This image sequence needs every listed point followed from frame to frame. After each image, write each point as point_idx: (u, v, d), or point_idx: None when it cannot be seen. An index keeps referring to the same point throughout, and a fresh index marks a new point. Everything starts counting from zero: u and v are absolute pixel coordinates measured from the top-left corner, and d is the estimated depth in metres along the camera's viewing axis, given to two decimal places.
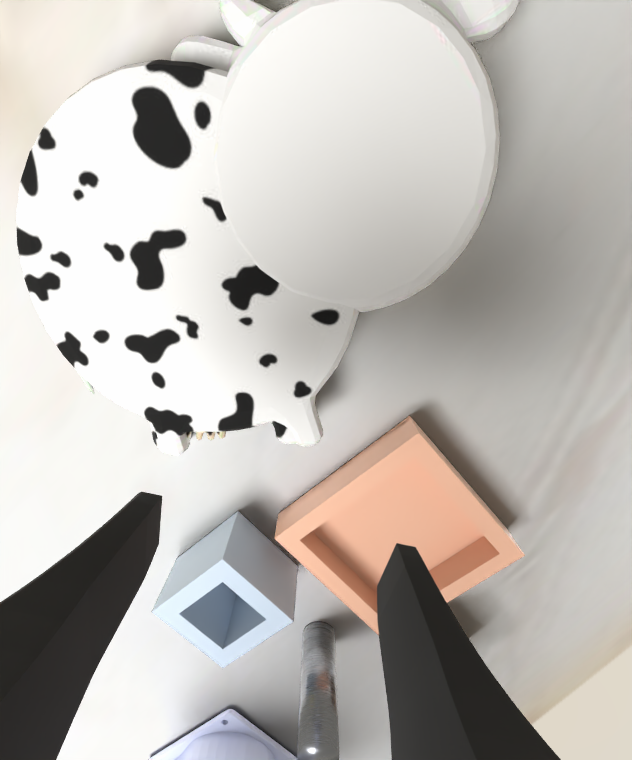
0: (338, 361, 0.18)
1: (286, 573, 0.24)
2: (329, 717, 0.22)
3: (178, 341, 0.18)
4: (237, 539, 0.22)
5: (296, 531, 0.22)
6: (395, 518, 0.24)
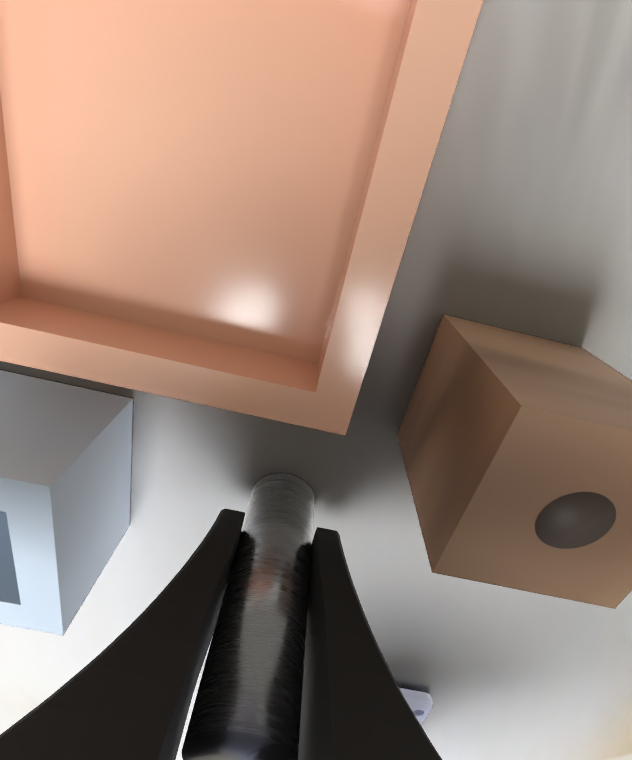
0: None
1: (79, 414, 0.11)
2: (246, 652, 0.08)
3: None
4: None
5: None
6: (167, 141, 0.09)
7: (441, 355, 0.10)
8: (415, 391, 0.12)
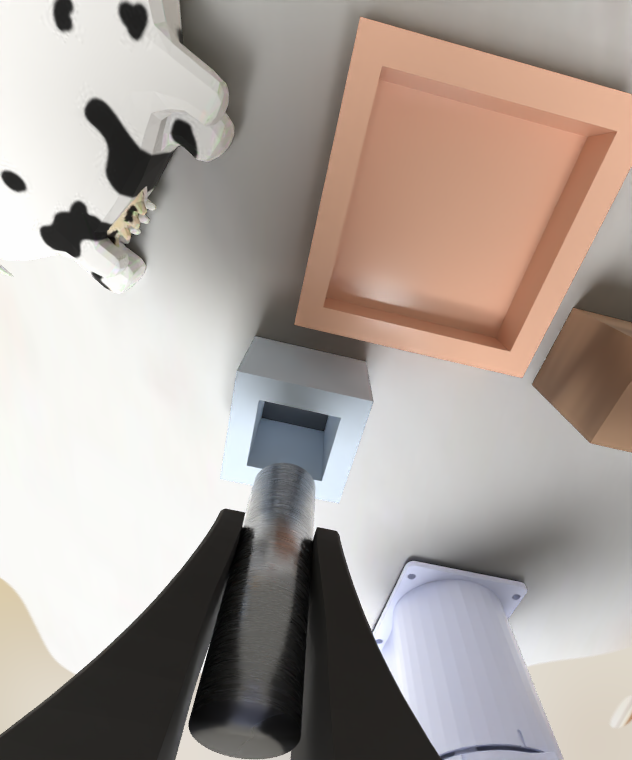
0: None
1: (349, 368, 0.18)
2: (251, 628, 0.08)
3: None
4: (258, 354, 0.17)
5: (311, 297, 0.16)
6: (437, 211, 0.16)
7: (575, 331, 0.17)
8: (549, 355, 0.19)
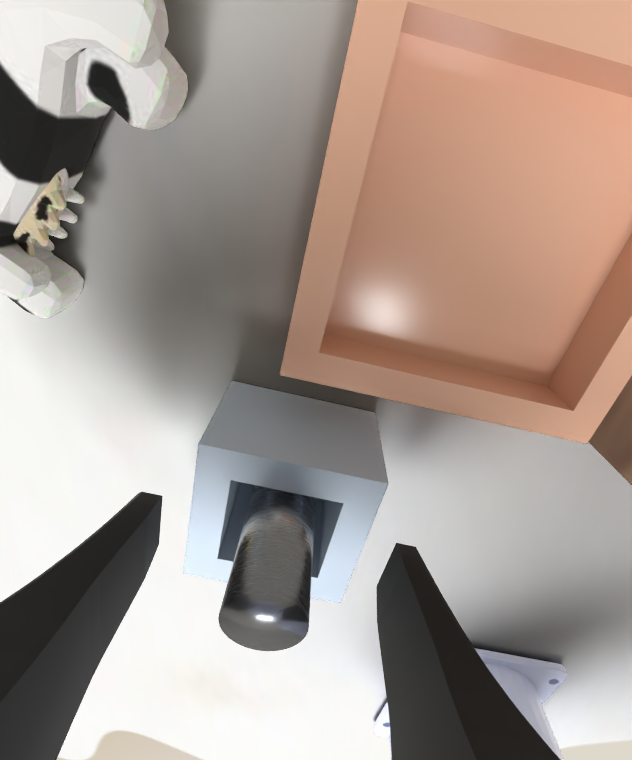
0: None
1: (354, 426, 0.14)
2: (267, 547, 0.10)
3: None
4: (233, 411, 0.13)
5: (302, 340, 0.11)
6: (476, 220, 0.11)
7: None
8: (614, 407, 0.14)
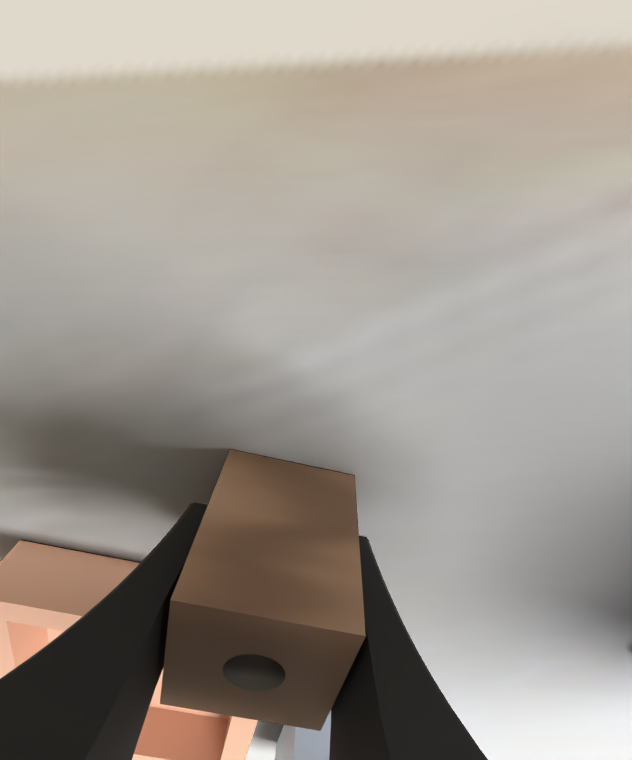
0: None
1: (291, 731, 0.17)
2: None
3: None
4: None
5: None
6: None
7: None
8: None
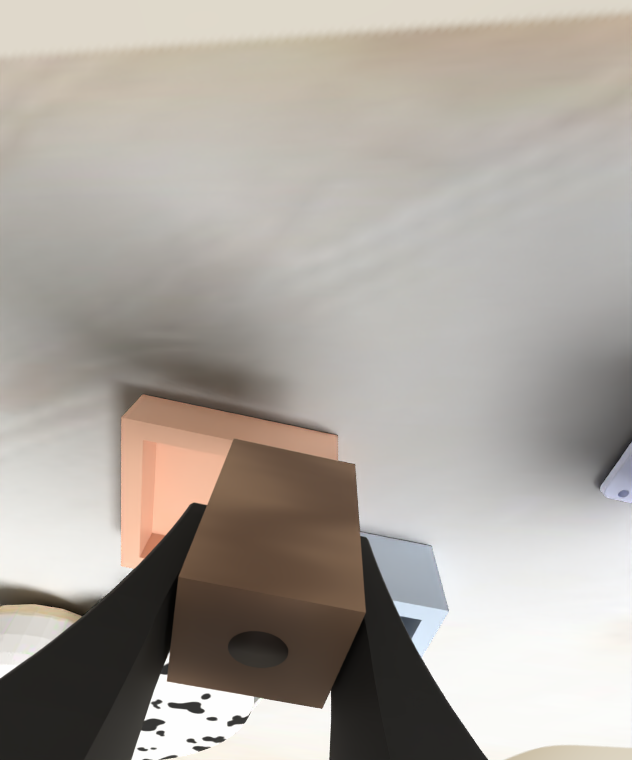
0: None
1: None
2: None
3: (171, 702, 0.27)
4: None
5: None
6: None
7: None
8: None
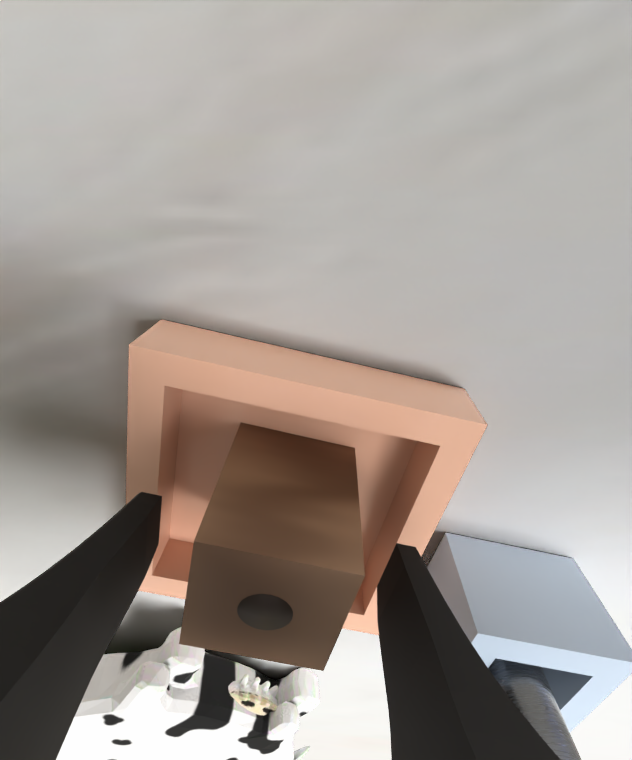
0: None
1: (445, 576, 0.15)
2: None
3: None
4: None
5: (353, 622, 0.15)
6: None
7: None
8: None
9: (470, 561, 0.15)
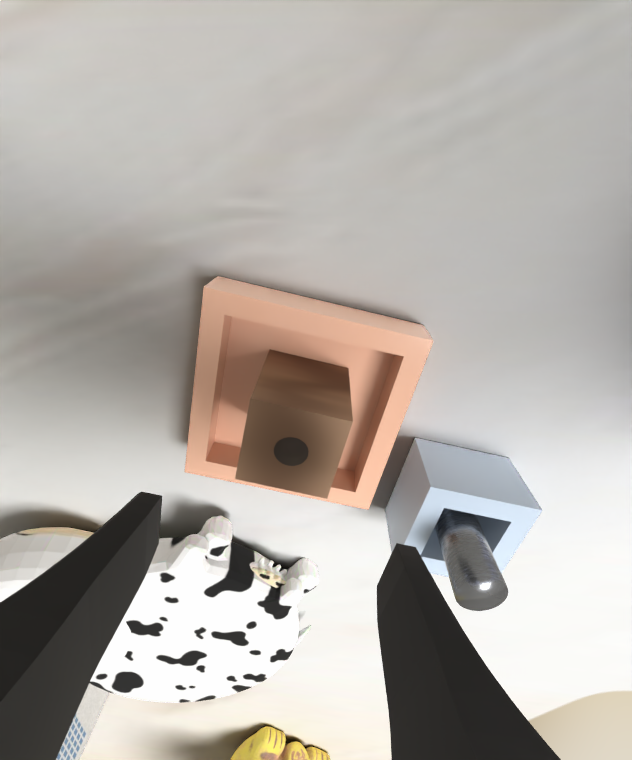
0: None
1: (414, 465, 0.21)
2: (447, 567, 0.18)
3: (215, 631, 0.25)
4: (392, 529, 0.22)
5: (347, 498, 0.21)
6: None
7: None
8: None
9: (431, 453, 0.21)
